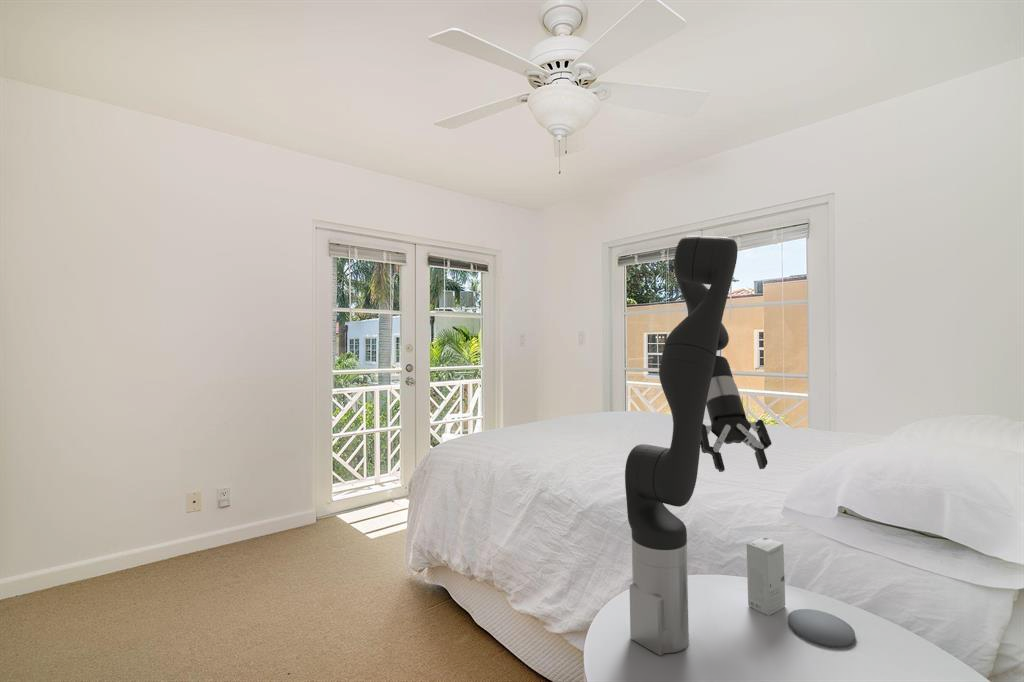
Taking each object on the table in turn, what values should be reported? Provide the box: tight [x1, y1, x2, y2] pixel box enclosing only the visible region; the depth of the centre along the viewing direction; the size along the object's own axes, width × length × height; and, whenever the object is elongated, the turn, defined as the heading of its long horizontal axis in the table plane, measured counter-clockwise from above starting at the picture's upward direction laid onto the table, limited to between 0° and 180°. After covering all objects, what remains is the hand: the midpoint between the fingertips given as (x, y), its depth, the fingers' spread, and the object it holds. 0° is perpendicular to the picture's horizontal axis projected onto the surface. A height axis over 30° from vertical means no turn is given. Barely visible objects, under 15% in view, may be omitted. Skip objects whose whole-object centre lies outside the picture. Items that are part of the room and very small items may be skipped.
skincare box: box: [746, 537, 786, 616], centre depth 94 cm, size 6×4×12 cm
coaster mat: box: [787, 608, 856, 649], centre depth 86 cm, size 10×10×1 cm
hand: (742, 469), depth 104 cm, fingers open, 8 cm apart
